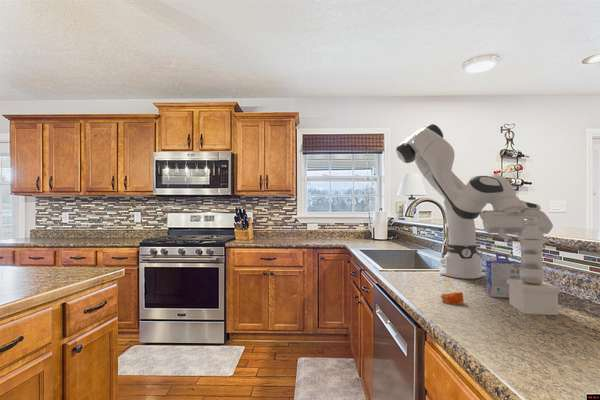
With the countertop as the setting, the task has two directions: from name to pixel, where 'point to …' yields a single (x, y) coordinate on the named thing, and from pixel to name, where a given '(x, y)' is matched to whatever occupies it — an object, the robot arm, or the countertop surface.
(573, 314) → the countertop surface
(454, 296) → the rock
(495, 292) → the ink cartridge box
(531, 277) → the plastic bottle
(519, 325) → the countertop surface
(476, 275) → the robot arm
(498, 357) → the countertop surface
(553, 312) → the white square block
